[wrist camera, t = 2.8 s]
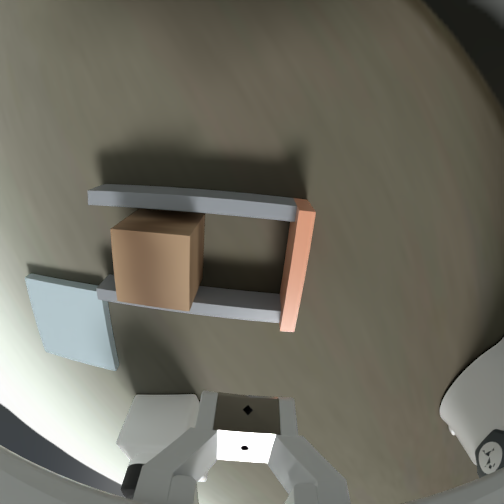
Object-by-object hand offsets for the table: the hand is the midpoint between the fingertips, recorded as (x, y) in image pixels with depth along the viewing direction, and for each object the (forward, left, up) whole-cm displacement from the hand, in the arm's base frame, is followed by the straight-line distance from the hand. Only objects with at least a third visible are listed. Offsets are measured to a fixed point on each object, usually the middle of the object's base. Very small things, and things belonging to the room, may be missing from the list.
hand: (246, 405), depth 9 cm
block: (+6, 0, -14) cm, 16 cm away
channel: (+5, 0, -14) cm, 15 cm away
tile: (+17, +9, -14) cm, 24 cm away
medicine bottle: (+7, +20, -14) cm, 26 cm away
